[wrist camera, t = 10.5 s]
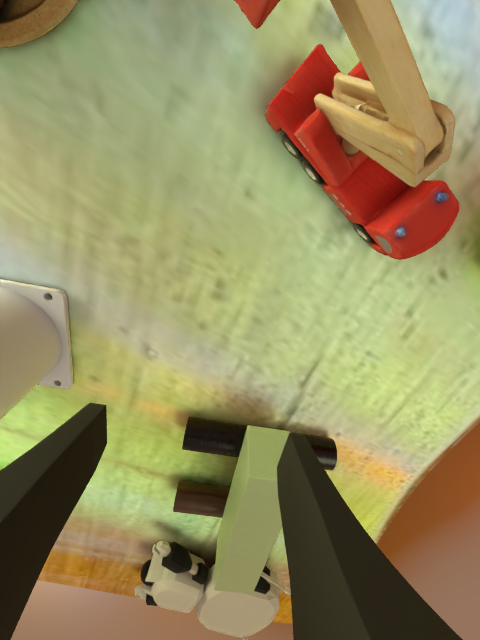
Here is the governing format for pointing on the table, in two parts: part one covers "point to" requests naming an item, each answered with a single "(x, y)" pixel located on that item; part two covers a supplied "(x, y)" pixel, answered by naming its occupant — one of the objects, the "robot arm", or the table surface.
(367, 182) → the toy fire truck
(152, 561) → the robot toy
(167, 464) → the table surface
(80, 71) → the table surface
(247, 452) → the bar
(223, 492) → the walnut rod
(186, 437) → the black rod
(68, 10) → the toy sandwich meal
